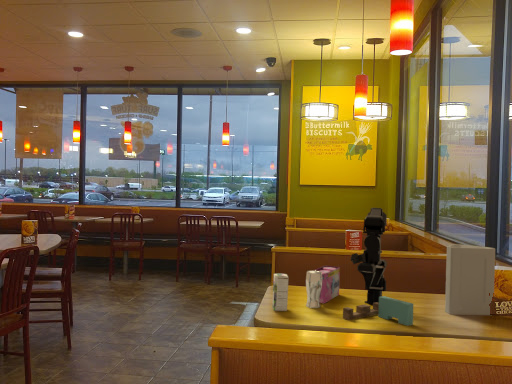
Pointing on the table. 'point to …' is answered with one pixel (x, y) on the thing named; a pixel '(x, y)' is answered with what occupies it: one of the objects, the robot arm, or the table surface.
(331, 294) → the gum box
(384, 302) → the teal plate
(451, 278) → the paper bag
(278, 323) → the table surface
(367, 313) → the walnut rail
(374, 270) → the robot arm
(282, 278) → the syrup box
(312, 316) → the table surface
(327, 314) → the table surface
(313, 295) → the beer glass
